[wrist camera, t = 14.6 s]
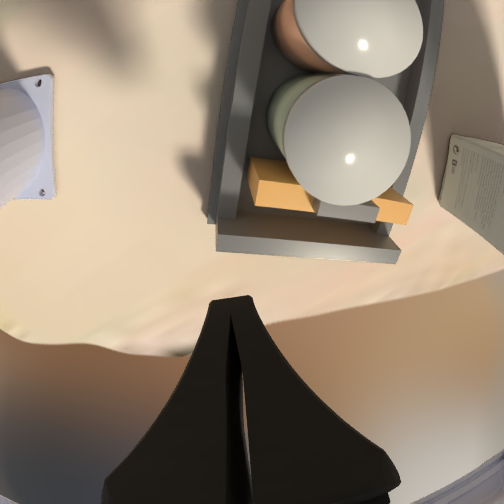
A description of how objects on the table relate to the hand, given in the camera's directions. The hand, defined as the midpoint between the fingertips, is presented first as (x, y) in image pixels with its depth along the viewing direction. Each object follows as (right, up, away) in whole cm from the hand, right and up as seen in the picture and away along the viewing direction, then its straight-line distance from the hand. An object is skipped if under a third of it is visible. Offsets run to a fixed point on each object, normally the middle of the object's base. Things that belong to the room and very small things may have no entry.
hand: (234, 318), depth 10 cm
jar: (+4, +14, +2) cm, 15 cm away
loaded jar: (+4, +10, +5) cm, 11 cm away
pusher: (+4, +7, +7) cm, 11 cm away
